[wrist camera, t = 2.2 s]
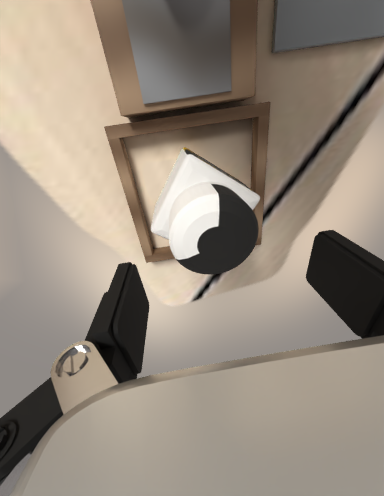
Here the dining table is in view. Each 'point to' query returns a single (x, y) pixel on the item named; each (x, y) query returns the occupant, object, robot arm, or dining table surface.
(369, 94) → the dining table surface
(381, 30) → the slate mat
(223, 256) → the medicine bottle
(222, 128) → the dining table surface
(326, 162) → the dining table surface
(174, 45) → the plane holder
